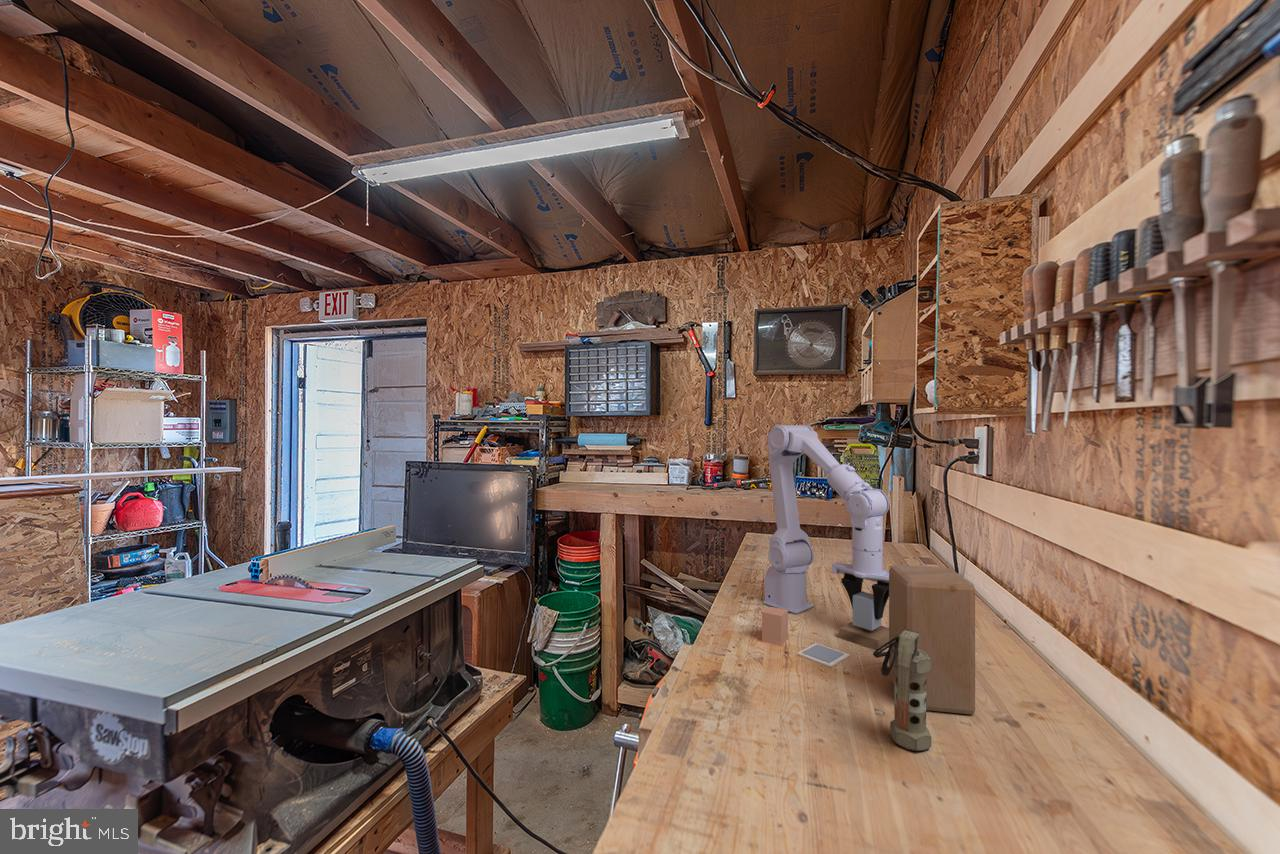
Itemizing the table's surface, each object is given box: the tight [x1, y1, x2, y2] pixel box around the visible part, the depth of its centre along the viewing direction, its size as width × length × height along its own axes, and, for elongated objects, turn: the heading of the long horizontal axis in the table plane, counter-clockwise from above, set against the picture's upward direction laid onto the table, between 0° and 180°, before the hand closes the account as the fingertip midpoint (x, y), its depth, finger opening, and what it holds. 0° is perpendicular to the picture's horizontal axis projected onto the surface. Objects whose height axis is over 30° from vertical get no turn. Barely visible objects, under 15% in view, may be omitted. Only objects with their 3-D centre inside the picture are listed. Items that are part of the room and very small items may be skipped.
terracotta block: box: [761, 606, 789, 647], centre depth 104 cm, size 4×4×6 cm
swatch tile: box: [796, 642, 851, 668], centre depth 97 cm, size 7×7×1 cm
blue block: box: [852, 591, 882, 631], centre depth 104 cm, size 4×4×6 cm
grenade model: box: [872, 630, 932, 752], centre depth 70 cm, size 6×7×15 cm
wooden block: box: [888, 564, 976, 715], centre depth 82 cm, size 10×10×20 cm
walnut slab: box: [838, 620, 889, 651], centre depth 104 cm, size 8×8×2 cm
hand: (867, 614), depth 104 cm, fingers closed on blue block, 4 cm apart
